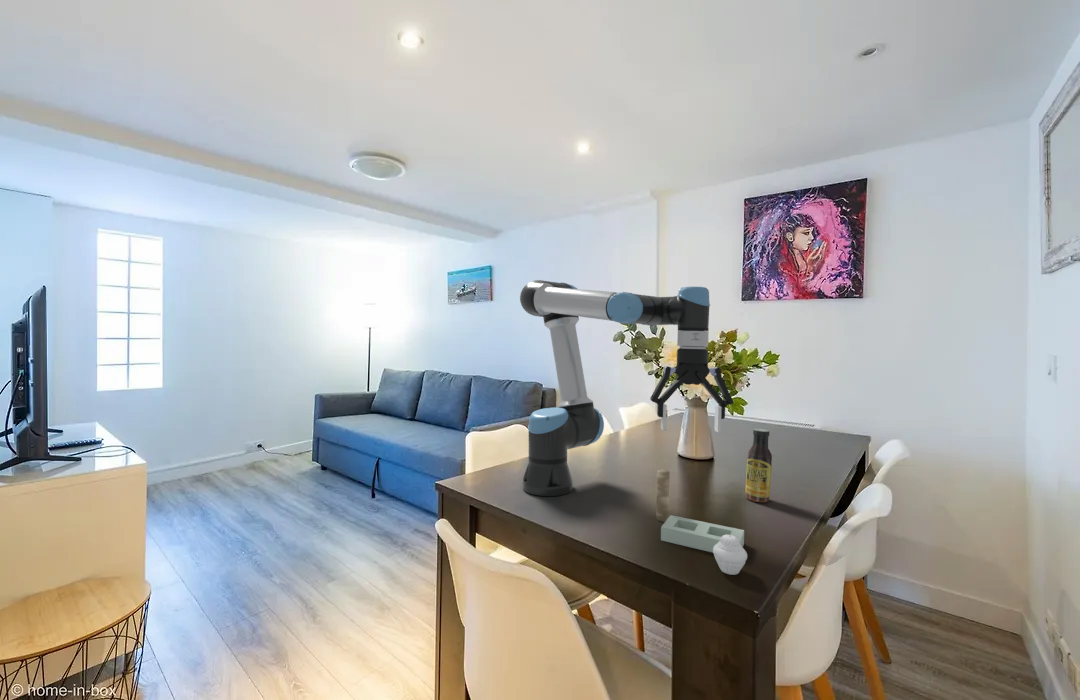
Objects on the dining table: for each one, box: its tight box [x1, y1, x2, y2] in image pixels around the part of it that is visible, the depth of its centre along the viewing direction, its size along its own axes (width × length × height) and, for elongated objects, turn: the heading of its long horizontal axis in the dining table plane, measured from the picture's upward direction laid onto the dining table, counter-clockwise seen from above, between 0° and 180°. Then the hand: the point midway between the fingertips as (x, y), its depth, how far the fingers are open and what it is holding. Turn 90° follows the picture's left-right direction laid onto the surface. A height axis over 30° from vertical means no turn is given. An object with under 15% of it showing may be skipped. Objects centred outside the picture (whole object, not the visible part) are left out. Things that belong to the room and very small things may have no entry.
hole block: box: [660, 514, 745, 554], centre depth 99 cm, size 16×8×3 cm, turn 59°
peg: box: [655, 469, 671, 523], centre depth 111 cm, size 3×3×12 cm
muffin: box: [713, 535, 748, 576], centre depth 86 cm, size 6×6×7 cm
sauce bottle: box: [745, 428, 773, 504], centre depth 125 cm, size 7×6×20 cm
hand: (690, 430), depth 115 cm, fingers open, 13 cm apart
